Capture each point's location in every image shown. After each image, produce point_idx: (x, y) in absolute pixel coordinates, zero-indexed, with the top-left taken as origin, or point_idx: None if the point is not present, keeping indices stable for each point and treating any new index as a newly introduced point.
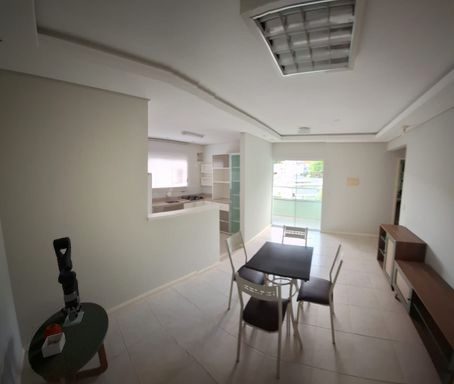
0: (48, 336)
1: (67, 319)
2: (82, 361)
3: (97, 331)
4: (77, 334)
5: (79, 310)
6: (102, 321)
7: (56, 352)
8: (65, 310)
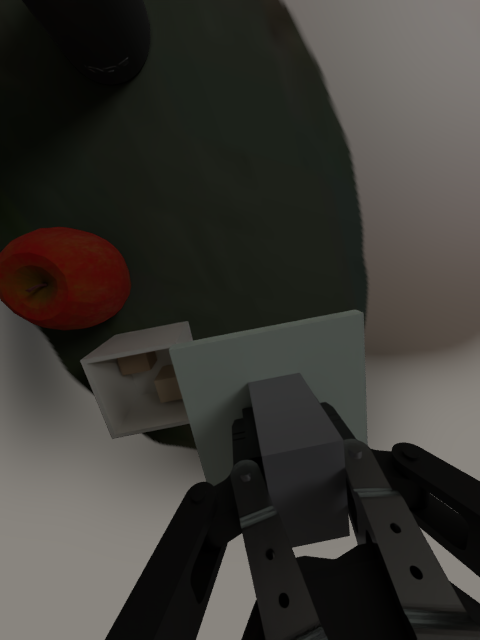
0: (86, 360)
1: (213, 424)
2: None
3: (337, 284)
4: (231, 283)
5: (445, 525)
6: (348, 200)
7: None
8: (178, 598)
